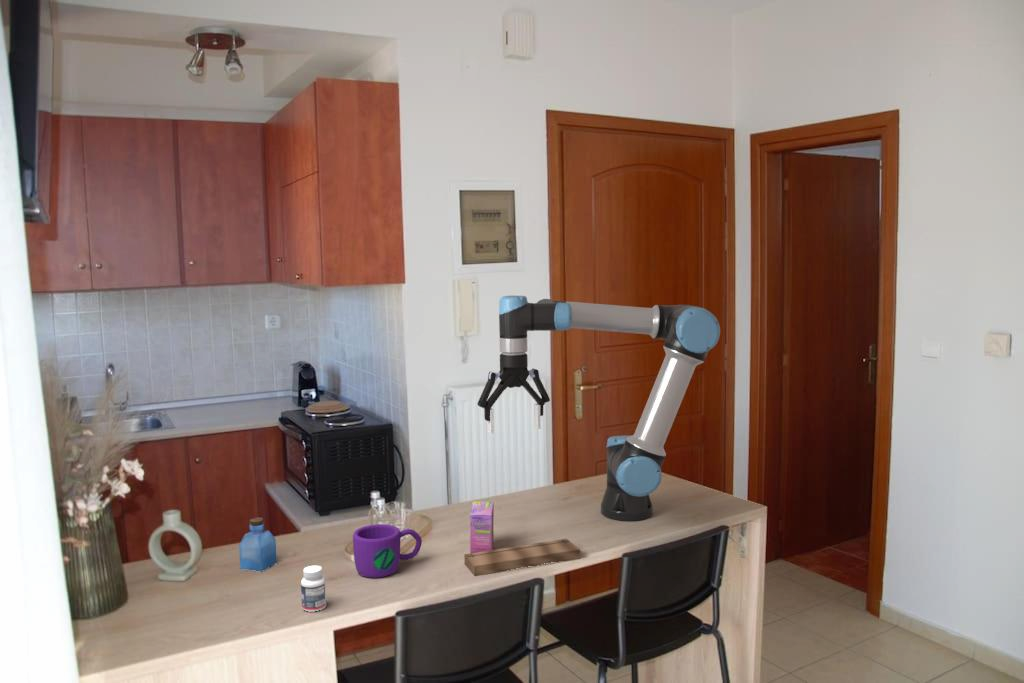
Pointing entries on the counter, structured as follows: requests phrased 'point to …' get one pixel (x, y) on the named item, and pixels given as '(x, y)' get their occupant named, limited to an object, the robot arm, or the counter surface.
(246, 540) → the perfume bottle
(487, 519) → the box
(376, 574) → the mug
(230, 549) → the counter surface
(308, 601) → the pill bottle
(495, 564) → the plank
